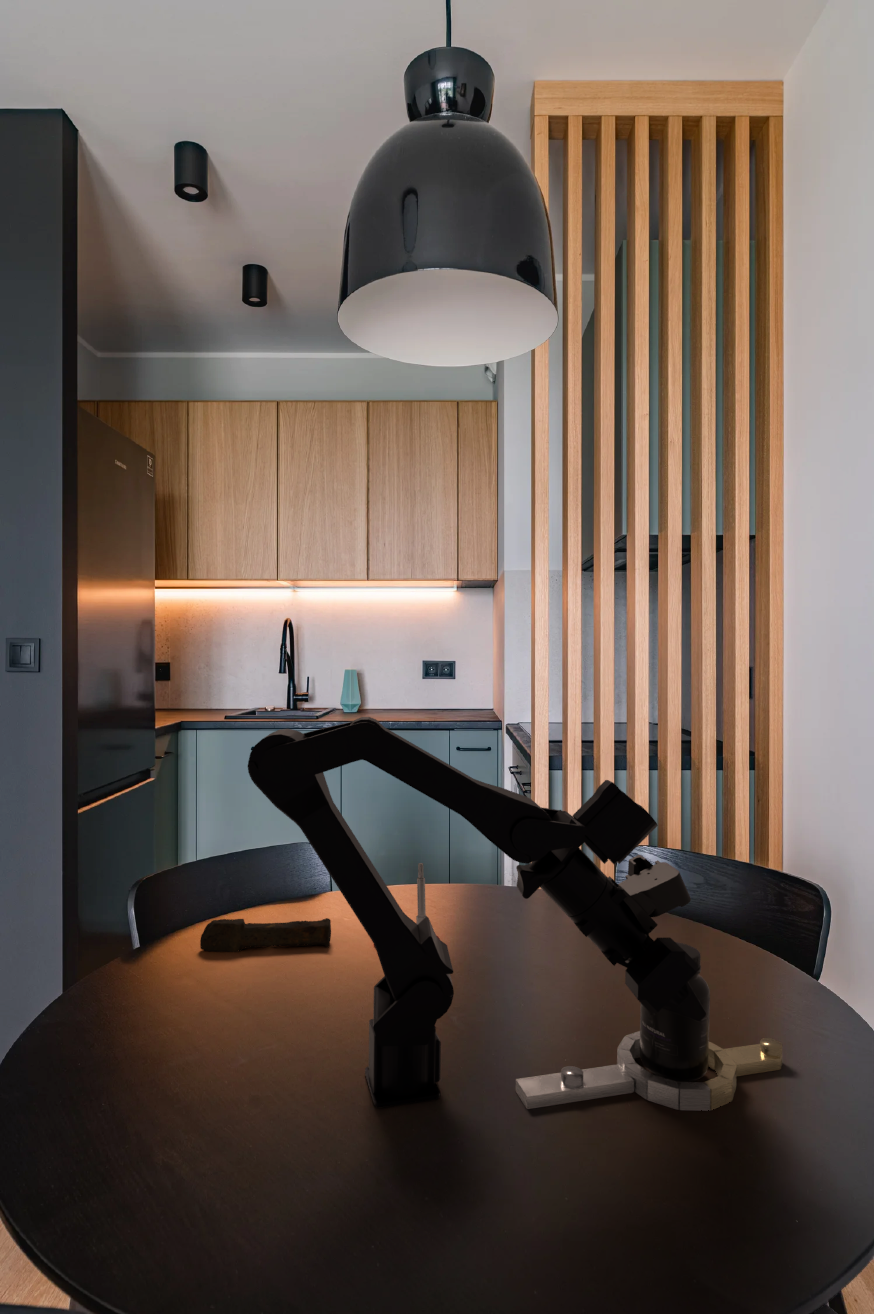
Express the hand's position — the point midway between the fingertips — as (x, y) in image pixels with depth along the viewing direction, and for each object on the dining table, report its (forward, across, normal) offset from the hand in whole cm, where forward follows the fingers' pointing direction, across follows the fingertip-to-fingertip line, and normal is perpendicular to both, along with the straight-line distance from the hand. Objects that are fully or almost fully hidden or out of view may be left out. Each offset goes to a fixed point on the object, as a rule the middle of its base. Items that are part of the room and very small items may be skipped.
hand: (687, 1001), depth 75 cm
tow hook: (-14, +37, +26) cm, 47 cm away
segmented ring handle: (-1, -1, +12) cm, 12 cm away
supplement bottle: (+4, 0, +6) cm, 7 cm away
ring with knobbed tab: (+9, +1, +2) cm, 9 cm away
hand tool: (-28, +36, +40) cm, 61 cm away
